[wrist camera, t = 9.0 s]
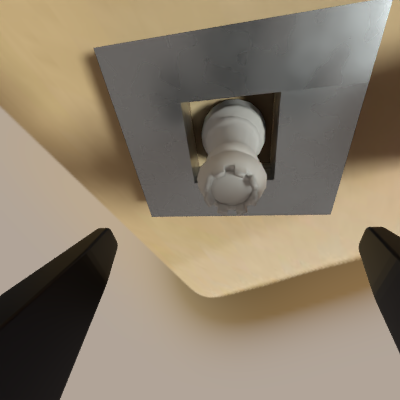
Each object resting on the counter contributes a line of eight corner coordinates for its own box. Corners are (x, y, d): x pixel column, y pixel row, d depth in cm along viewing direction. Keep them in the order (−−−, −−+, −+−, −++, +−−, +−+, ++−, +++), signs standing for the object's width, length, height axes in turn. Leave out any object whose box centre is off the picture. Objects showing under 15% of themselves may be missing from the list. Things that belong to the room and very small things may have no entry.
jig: (366, 2, 11) (393, -4, 9) (320, 194, 18) (330, 214, 16) (113, 45, 14) (93, 47, 12) (160, 199, 21) (151, 216, 19)
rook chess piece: (242, 167, 18) (246, 242, 11) (192, 141, 17) (166, 207, 11) (278, 117, 15) (308, 179, 9) (221, 84, 14) (208, 125, 8)
